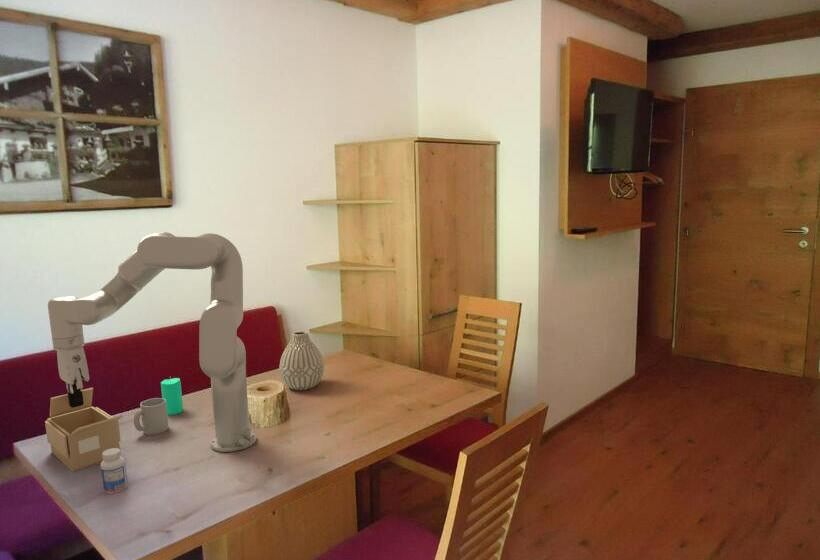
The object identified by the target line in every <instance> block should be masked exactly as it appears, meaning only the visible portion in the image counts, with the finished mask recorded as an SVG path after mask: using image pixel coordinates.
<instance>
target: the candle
mask: <svg viewBox="0 0 820 560" xmlns="http://www.w3.org/2000/svg"><path fill="white" fill-rule="evenodd" d="M160 387H161V388H160V389H161V398H163V399H165V400H166V406H167V416H171V415H172V416H173V415H176V414H180V413H182V412H183V411H184V404H183V393H182V383H181V379H180V377H174V378H171V377H169V379H163V380H162V381H161V382H160Z"/></svg>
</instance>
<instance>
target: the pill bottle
mask: <svg viewBox="0 0 820 560" xmlns="http://www.w3.org/2000/svg"><path fill="white" fill-rule="evenodd" d="M102 458H103V461H102V462H101V463H100V469H101V470H100V471H101V478H102V479H101V480H102V487H103V491H104V492H105V493H107V494H116V493H120V492H122V491H124V490H125V489H126V488H127V487H129V486H128V485H129V484H128V475H127V468H126V461H125V458H124V457H123V456H122V453H121V449H119V448H111V449H108V450H105V451H104V452H103V453H102Z"/></svg>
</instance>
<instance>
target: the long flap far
mask: <svg viewBox="0 0 820 560" xmlns="http://www.w3.org/2000/svg"><path fill="white" fill-rule="evenodd" d="M82 394H83V402H84V404H83V405H81V406H77V407H74V408H72V407H70V406H69V399H68V393H66V394H61V395H57V396H52V397H50V403H49V404H50V405H49V418H52V417H56V416H59V415H63V414H67V413H70V412H74V411H78V410H81V409H85V408H89V407H92V402H93V394H94V387H89V388H88V387H87V388H85V389H82Z"/></svg>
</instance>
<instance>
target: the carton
mask: <svg viewBox="0 0 820 560" xmlns="http://www.w3.org/2000/svg"><path fill="white" fill-rule="evenodd" d="M110 418H114V417H113V416H112V415H111V414H108V413H107V412H106V411H104V410H103V409H101V408H99V407H98V406H96V407H95V406H92V405H91V406H89V407H85V408H82V409H78V410H74V411H71V412H67V413H63V414H60V415H56V416H52V417H48V418H46V420H45V421H44V423H45V424H44V426H45V432H46V439H47V443H49V444H50V449H51V453H52V454H53V455H54V456H55V457H56V458H57V459H58V460H59V461H61V463H63V464H64V465H65V466H66V467H67V468H69V469H70V470H71V471H72V472H76V471H81V470H83V469H85V468H89V467H92V466H94V465H95V466H96V465H97V464H101V462H102V461H103V458H102V453H103V452H104V451H105V450H108V449H111V448H119V449H120V442H121V441H122V440H121V431H120V422H119V420H118V421H116V422H114V423H111V424H108V425H104V426H101V427H98V428H94V429H91V430H87V431H84V432H81V433H77V434H74V435H72V434H71V433H72V432H73V431H75V430H76V429H77V428H79V427H83V426H86V425H89V424H93V423H96V422H100V421H103V420H107V419H110ZM120 450H121V449H120Z"/></svg>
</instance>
